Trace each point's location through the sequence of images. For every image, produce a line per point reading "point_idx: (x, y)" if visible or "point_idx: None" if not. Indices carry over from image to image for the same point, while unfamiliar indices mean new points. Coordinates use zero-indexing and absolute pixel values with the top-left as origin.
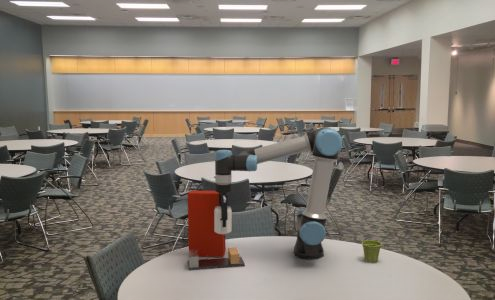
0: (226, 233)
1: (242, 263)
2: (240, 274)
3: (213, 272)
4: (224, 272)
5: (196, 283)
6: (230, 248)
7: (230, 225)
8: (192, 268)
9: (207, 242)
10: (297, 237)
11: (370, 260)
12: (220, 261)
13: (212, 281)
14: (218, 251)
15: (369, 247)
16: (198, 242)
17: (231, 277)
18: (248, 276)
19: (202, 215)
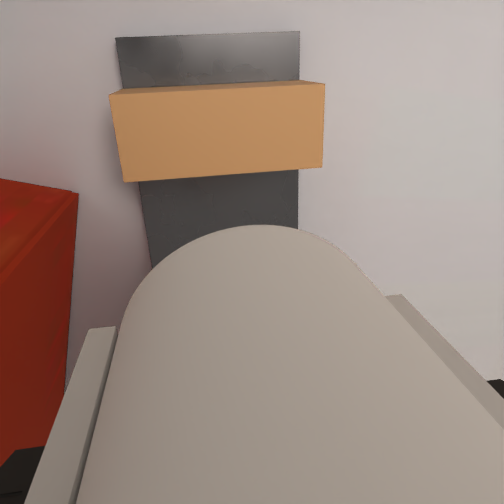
0: (401, 300)
1: (286, 50)
2: (435, 88)
3: (353, 257)
4: (371, 193)
5: (468, 330)
6: (145, 159)
7: (379, 298)
8: None
9: (35, 367)
10: None
11: None
12: (217, 220)
13: (475, 260)
14: (63, 244)
15: None
16: (33, 427)
17: (461, 154)
18: (487, 32)
19: None
